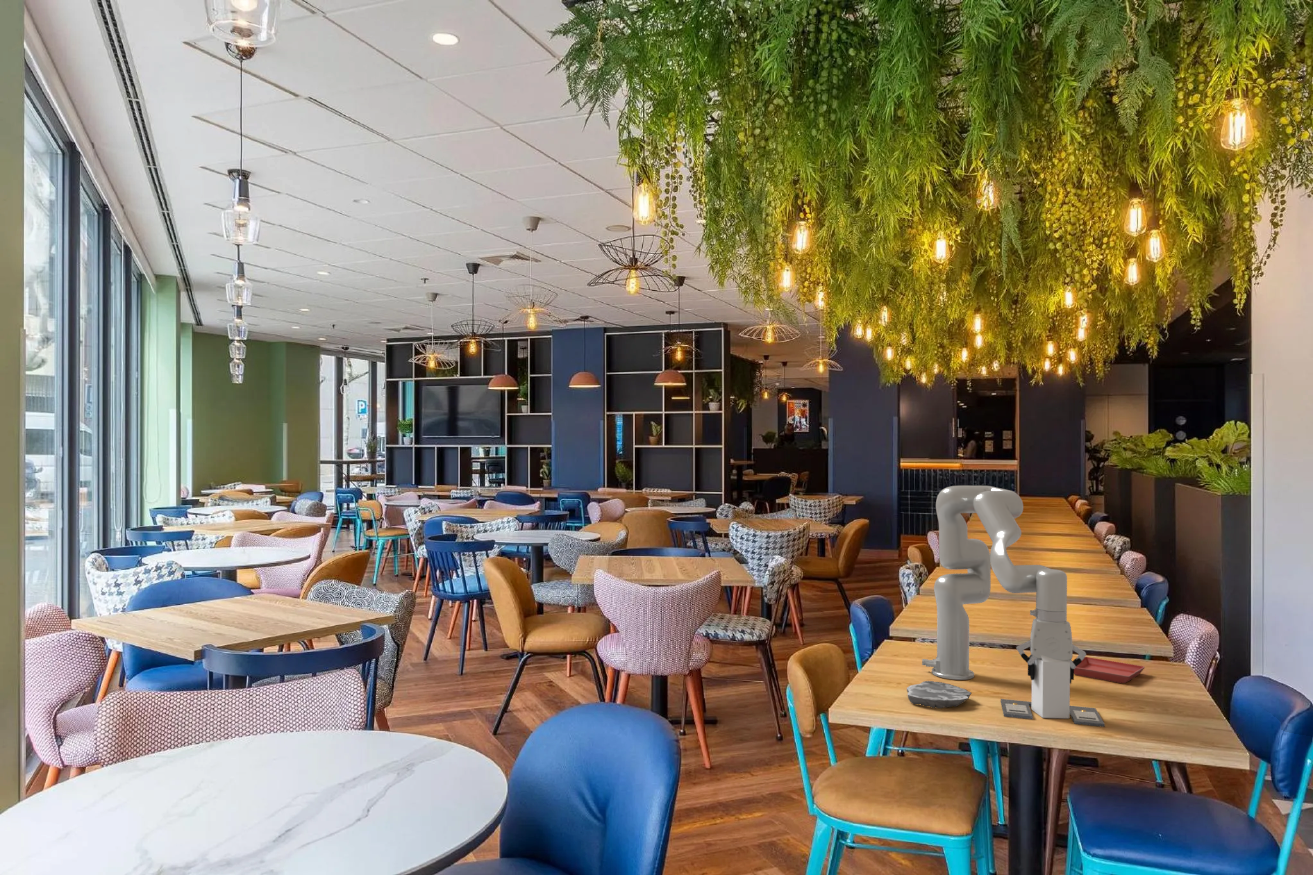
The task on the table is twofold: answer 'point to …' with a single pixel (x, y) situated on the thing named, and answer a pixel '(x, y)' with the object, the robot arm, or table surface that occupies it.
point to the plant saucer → (1107, 670)
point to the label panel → (1077, 713)
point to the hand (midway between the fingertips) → (1050, 680)
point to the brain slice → (937, 694)
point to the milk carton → (1051, 688)
